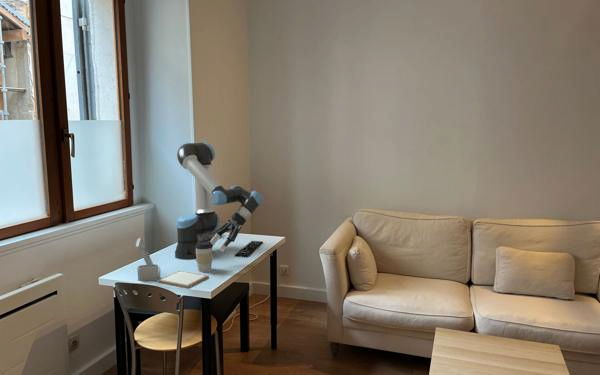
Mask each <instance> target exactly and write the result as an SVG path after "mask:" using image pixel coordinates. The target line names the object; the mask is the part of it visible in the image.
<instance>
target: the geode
mask: <svg viewBox="0 0 600 375" xmlns="http://www.w3.org/2000/svg"><path fill="white" fill-rule="evenodd" d="M218 229H219V228H218ZM218 229H217V230H218ZM217 230H216V231H217ZM216 231H214V232H212V233H207V234H203V235H199V236H198V242H202V241H211V240H212V238H213V237H214V236H215V235H216V234H217V232H216Z"/></svg>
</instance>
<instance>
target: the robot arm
mask: <svg viewBox="0 0 600 375" xmlns="http://www.w3.org/2000/svg"><path fill="white" fill-rule="evenodd" d="M215 155H216V153H215V149H214V147H213V146H212V145H211V144H210V143H208V142H191V143H190V142H188V143H184V144H182V145H180V147H179V148H178V149H177V153H176V156H177V157H176V158H177V161H178V163H179V164H180V165H181V167H182V168H183V169H185V170H188V171H189V172H190V173H191V175H192V176H193V178H194V182H195V193H196V205H197V209H196V210H195V212H194V213H189V214H183V215H181V216H179V217H178V218H177V220H176V229H177V230H176V231H177V245H176V246H175V247H176V248H175V252H174V258H177V259H179V260H192V259H193V260H194V259H197V258H196V248H195V247H196V245H197V243H198V236H199V235H203V234H207V233H212V232H214V231H216V230H217V229H218V230H217V231H216V232H217V234H216V235H215V236H214V237H213V238H212V239H210V240H209V241H210V242H211V244H212V246H213V247H214V246H215V244H216V243H217V242H218V241H219V240H220V238H221V237H222V235H223V234H225V233H227V232H228V231H229V232H228V237H226V239H225V240H224V241H223V242H222V243H221V245H220V246H219V247H218V250H219V251H220V252H221V253H223V252H224V251H225V249H226V248H227V247H228V246H229V245H230V243H234V242H235V240H236V238H237V237H238V234H239V233H240V231H241V229H242V226H244V225H245V223H246V222H247V220H248V219H249V218H250V217H252V214H253V213H254V212H255V211H256V210H257V208H259V206H260V205H261V203H262V202H263V201H264V196H263V195H262V194H261V193H260V192H258V191H257V190H252V191H251V192H249V191H248V190H246V189H245V188H243V187H242V186H240V185H237V184H234V185H232V186H230V188H227V189H226V188H225V187H224V186H223V185H221V183H220V182H219V181H218V180H217V179H216V178H215V177H214V176H213V175H212V173H211V172H210V167H212V162H213V161H214V160H215V158H216V157H215ZM237 202H238V203H240V204H241V205H239V207H238V208H237V209H236V211H235V212H234V213H233V214H232V216H231V219H232V220H231V219H228V220H227V221H226V222H224V224H222V225H221V226H220V224H221V218H220V216H219V215H218V213H216V209H214V208H213V205H215V206H223V205H226V204H227V205H228V204H232V203H233V204H234V203H237Z"/></svg>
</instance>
